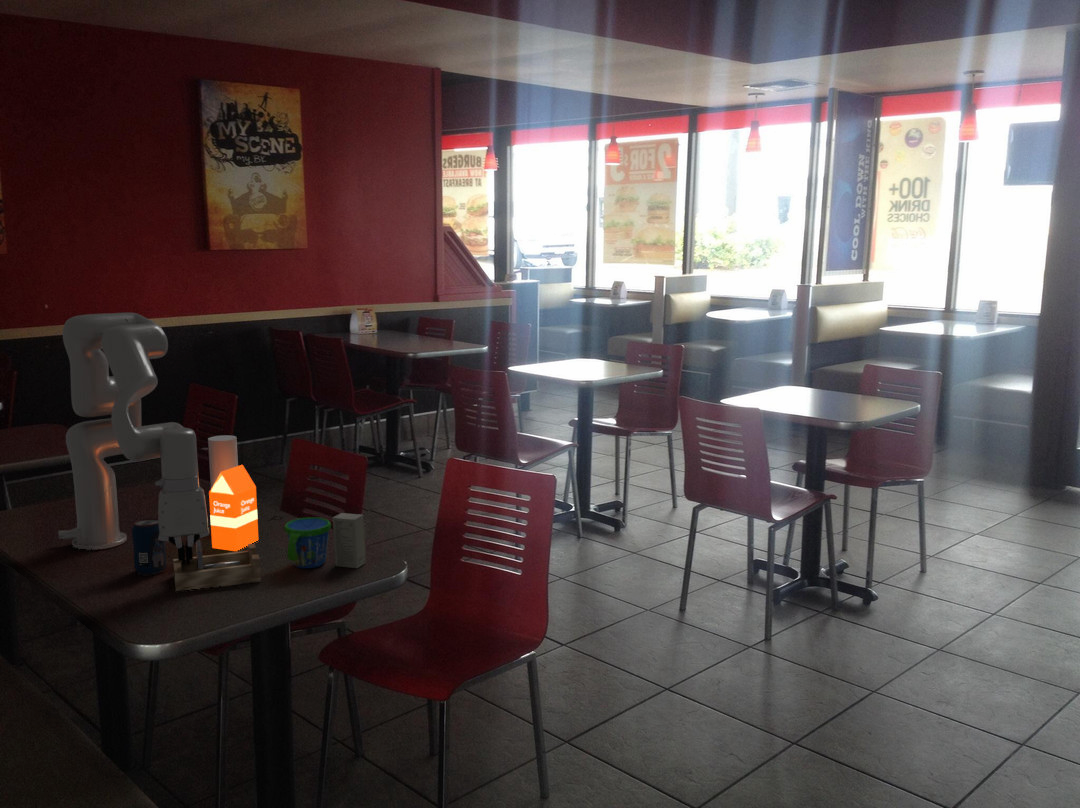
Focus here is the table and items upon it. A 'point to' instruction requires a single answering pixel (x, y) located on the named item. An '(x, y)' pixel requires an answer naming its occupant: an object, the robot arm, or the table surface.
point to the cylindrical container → (221, 455)
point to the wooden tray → (218, 570)
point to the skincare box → (349, 540)
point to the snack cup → (307, 541)
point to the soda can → (148, 547)
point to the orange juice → (233, 510)
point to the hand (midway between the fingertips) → (185, 562)
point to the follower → (210, 566)
